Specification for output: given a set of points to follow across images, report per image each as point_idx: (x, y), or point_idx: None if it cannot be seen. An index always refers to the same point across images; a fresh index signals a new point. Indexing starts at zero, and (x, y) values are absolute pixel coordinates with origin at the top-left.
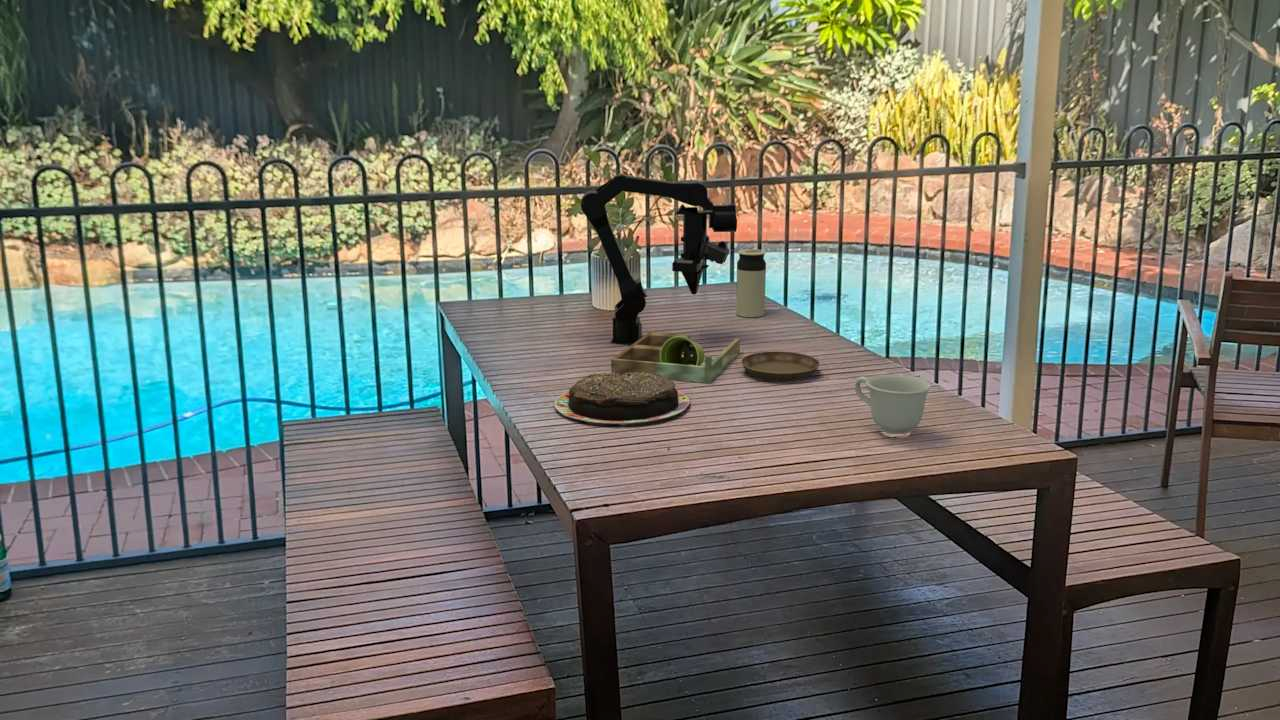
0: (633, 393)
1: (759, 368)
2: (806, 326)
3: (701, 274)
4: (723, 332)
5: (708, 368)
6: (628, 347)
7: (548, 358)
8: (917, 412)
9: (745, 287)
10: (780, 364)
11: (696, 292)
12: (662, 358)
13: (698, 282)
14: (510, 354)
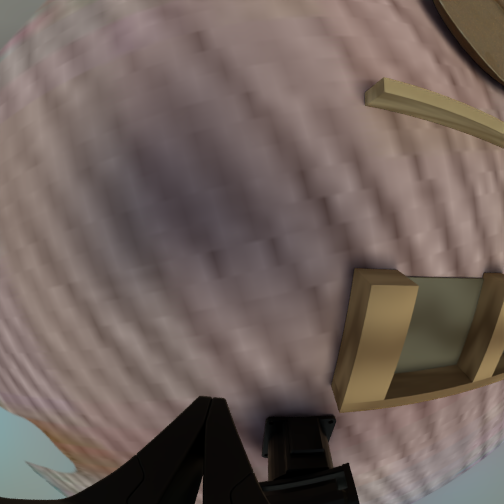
0: None
1: (489, 58)
2: (23, 33)
3: (101, 495)
4: (98, 207)
5: None
6: (488, 383)
7: (426, 465)
8: None
9: None
10: (447, 8)
11: (210, 402)
12: None
13: (184, 457)
14: (397, 497)
